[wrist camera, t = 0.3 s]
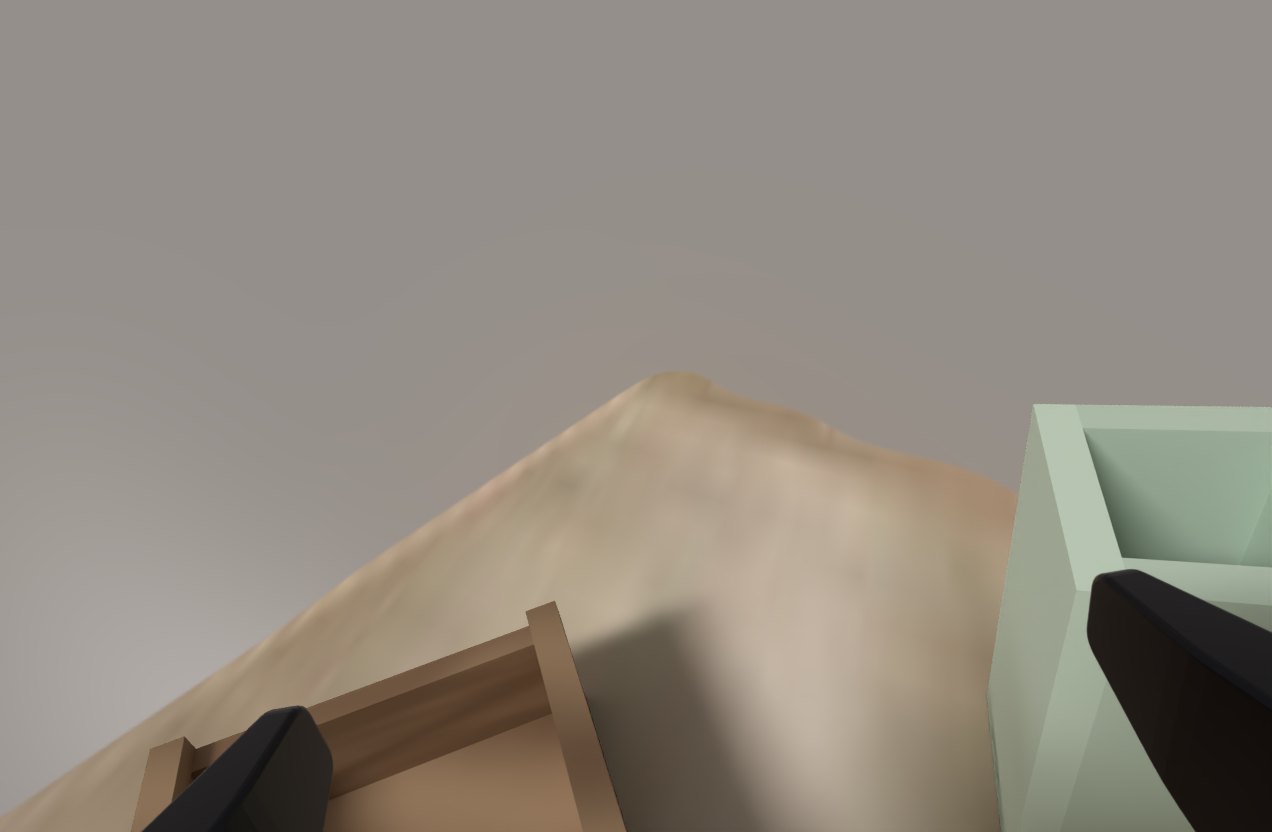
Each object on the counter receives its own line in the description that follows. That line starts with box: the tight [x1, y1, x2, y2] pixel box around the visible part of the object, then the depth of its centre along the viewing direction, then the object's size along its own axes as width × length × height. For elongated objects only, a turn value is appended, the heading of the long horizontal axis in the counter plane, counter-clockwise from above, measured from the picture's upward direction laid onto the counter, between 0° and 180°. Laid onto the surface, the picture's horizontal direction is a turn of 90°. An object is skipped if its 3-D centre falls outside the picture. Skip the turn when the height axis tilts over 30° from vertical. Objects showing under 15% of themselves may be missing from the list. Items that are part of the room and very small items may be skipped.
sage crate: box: [987, 404, 1272, 832], centre depth 19 cm, size 6×6×12 cm
